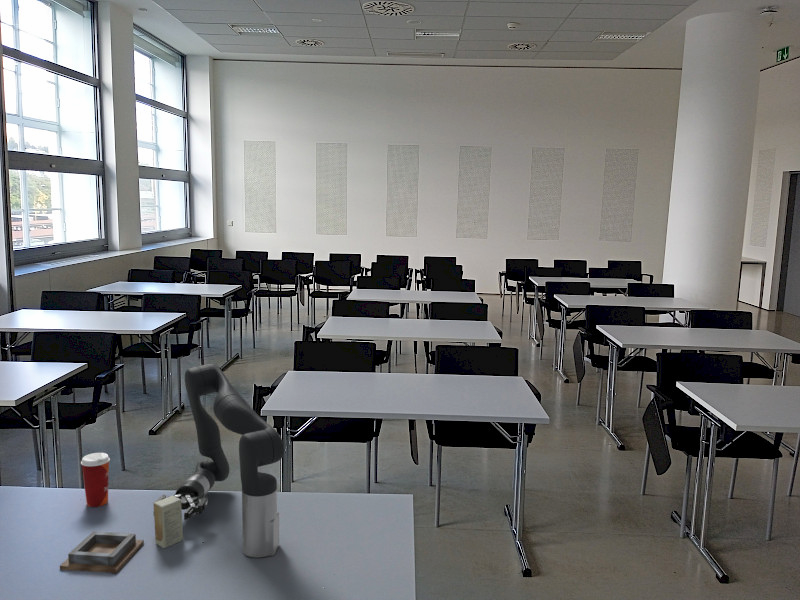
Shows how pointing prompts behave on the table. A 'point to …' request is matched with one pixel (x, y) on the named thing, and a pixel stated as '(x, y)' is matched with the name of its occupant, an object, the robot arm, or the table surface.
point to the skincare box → (168, 521)
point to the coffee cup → (96, 478)
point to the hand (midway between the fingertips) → (170, 515)
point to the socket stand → (102, 552)
